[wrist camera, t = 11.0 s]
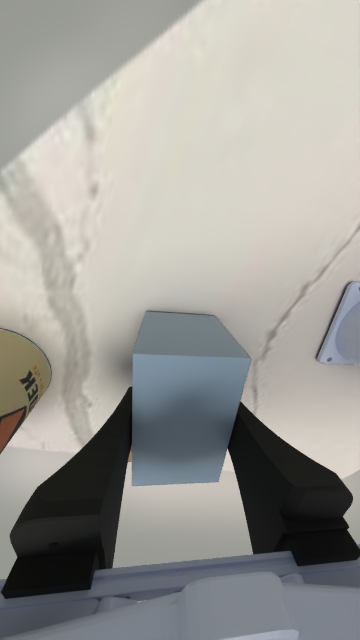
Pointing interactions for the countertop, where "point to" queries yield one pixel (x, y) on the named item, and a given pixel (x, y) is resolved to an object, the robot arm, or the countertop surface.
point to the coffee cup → (19, 381)
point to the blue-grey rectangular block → (184, 398)
